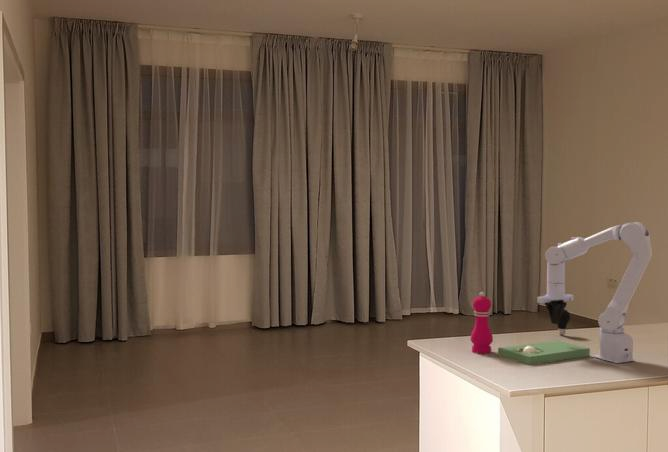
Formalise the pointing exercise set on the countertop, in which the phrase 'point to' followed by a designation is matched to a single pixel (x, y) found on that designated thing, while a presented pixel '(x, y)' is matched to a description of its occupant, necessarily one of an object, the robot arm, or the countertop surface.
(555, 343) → the putting mat
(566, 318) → the light bulb
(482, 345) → the pepper mill
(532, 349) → the golf ball
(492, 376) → the countertop surface
